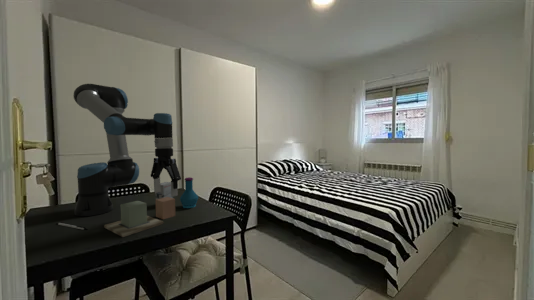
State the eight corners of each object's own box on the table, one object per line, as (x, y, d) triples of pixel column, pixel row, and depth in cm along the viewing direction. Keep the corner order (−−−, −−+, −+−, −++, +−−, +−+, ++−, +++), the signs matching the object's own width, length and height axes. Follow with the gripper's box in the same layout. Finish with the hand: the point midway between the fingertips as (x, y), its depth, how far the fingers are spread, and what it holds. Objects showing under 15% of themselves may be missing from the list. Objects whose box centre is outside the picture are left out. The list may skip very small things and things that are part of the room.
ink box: (165, 202, 131) (164, 181, 130) (173, 202, 130) (173, 181, 129) (155, 206, 123) (154, 184, 122) (163, 207, 122) (163, 185, 121)
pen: (86, 231, 92) (85, 228, 92) (55, 224, 99) (55, 222, 99) (88, 230, 93) (88, 227, 93) (57, 224, 100) (57, 221, 99)
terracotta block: (155, 216, 108) (155, 199, 107) (167, 213, 113) (167, 196, 112) (163, 219, 104) (162, 201, 104) (175, 215, 109) (175, 198, 109)
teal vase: (191, 202, 130) (190, 175, 129) (202, 205, 125) (201, 177, 124) (176, 206, 123) (175, 178, 122) (187, 210, 117) (186, 180, 117)
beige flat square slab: (104, 227, 95) (103, 224, 95) (143, 216, 108) (143, 214, 108) (122, 237, 86) (122, 234, 86) (163, 223, 99) (163, 221, 99)
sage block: (121, 223, 96) (120, 204, 96) (138, 218, 102) (138, 200, 101) (129, 227, 92) (128, 207, 92) (147, 222, 98) (146, 203, 97)
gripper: (141, 147, 111) (143, 192, 112) (172, 148, 96) (174, 199, 97) (156, 147, 117) (158, 189, 118) (188, 147, 103) (189, 195, 104)
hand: (165, 194), depth 108 cm, fingers open, 13 cm apart
